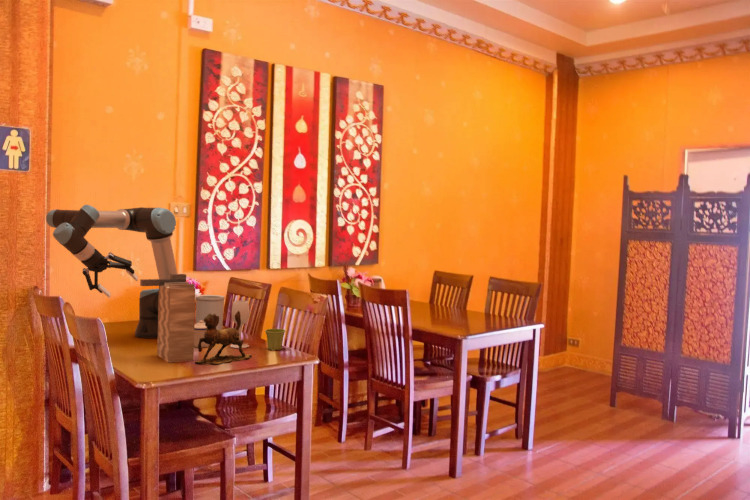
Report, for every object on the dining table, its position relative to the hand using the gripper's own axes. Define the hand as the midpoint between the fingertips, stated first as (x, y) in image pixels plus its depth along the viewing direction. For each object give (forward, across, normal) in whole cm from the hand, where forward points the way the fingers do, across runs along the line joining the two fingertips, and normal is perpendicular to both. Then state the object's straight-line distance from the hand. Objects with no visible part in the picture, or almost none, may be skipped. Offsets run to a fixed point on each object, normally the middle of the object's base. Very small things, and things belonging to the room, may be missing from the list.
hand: (123, 287), depth 256 cm
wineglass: (+52, +22, -11) cm, 58 cm away
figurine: (+35, +22, -34) cm, 53 cm away
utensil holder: (+67, 0, +31) cm, 74 cm away
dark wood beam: (+5, +16, -7) cm, 18 cm away
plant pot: (+58, +36, -19) cm, 71 cm away
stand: (+26, +4, -26) cm, 37 cm away
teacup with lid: (+44, +7, -6) cm, 45 cm away
